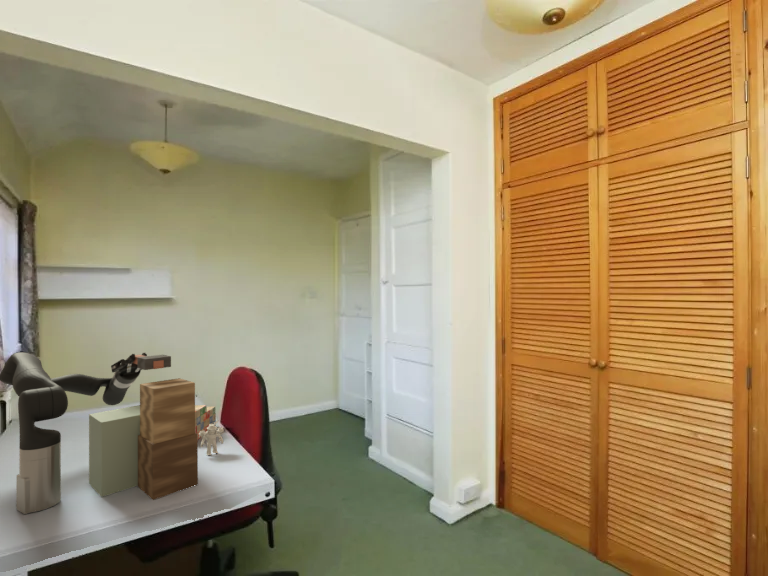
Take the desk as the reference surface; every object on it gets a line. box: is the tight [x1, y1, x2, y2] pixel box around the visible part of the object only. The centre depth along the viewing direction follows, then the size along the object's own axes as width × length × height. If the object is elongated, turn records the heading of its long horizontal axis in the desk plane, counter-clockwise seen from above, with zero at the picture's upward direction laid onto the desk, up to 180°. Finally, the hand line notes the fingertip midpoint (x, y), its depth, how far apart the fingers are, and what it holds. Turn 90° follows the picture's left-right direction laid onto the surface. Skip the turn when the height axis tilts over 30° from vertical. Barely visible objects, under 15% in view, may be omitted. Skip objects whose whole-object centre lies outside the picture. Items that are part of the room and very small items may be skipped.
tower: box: [137, 377, 199, 501], centre depth 132 cm, size 13×13×32 cm
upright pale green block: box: [88, 404, 140, 498], centre depth 139 cm, size 14×24×22 cm, turn 137°
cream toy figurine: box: [199, 419, 225, 456], centre depth 159 cm, size 9×4×12 cm, turn 127°
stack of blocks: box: [195, 404, 217, 440], centre depth 183 cm, size 21×6×12 cm, turn 178°
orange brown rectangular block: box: [133, 354, 172, 371], centre depth 145 cm, size 23×8×4 cm, turn 47°
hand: (139, 355), depth 150 cm, fingers closed on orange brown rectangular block, 3 cm apart
